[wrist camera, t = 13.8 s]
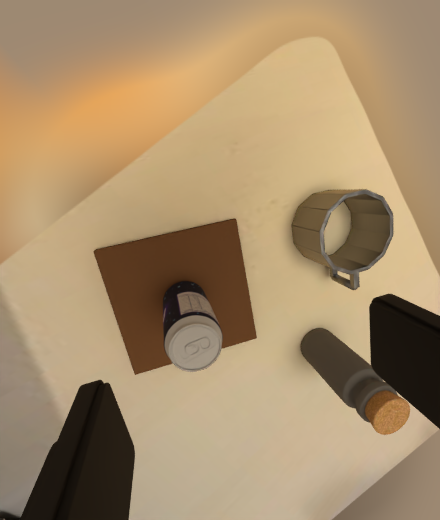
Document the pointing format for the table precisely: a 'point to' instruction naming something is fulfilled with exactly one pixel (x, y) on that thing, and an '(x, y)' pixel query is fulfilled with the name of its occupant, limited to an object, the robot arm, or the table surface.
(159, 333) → the mat
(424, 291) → the table surface
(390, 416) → the bottle
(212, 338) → the beverage can
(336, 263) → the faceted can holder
